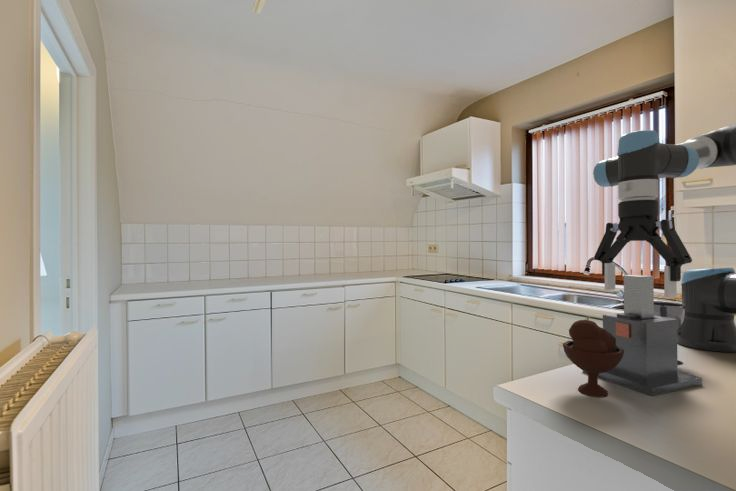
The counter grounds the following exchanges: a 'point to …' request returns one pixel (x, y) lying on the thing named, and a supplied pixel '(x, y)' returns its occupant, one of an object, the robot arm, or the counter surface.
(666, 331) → the stand housing
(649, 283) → the post
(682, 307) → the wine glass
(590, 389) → the ice cream bowl
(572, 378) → the counter surface
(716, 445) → the counter surface
